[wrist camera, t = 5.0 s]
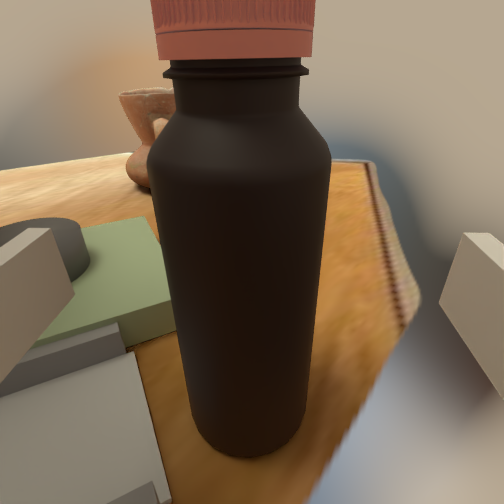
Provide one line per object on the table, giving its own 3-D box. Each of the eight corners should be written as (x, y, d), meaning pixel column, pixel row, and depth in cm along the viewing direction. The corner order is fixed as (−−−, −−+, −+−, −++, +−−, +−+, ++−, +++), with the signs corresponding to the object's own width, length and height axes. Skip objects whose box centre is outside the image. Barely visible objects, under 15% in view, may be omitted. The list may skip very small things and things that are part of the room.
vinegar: (236, 343, 24) (216, -1, 14) (323, 387, 21) (382, -23, 10) (167, 416, 19) (57, -29, 9) (266, 489, 16) (272, -88, 6)
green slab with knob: (-392, 852, 9) (-747, 878, 6) (-70, 289, 30) (-108, 231, 27) (266, 474, 16) (267, 398, 13) (148, 239, 38) (138, 190, 35)
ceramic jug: (139, 170, 62) (123, 86, 55) (216, 166, 63) (210, 84, 56) (118, 207, 46) (91, 97, 39) (220, 201, 48) (212, 93, 41)
